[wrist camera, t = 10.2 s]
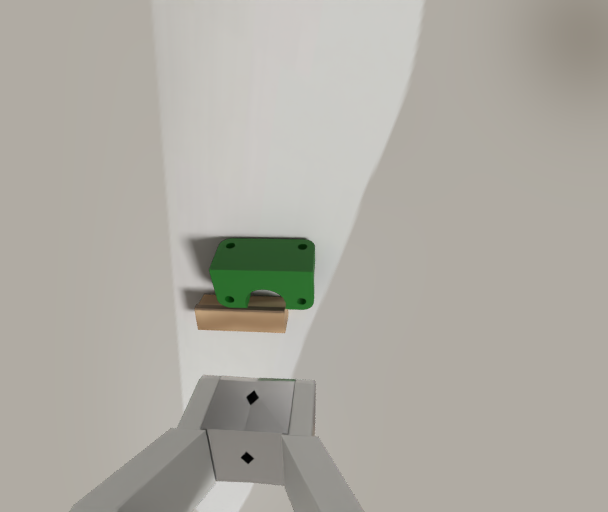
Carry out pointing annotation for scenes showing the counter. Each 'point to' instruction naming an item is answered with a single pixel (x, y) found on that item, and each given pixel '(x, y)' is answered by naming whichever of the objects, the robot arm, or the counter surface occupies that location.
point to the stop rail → (243, 315)
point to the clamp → (264, 271)
